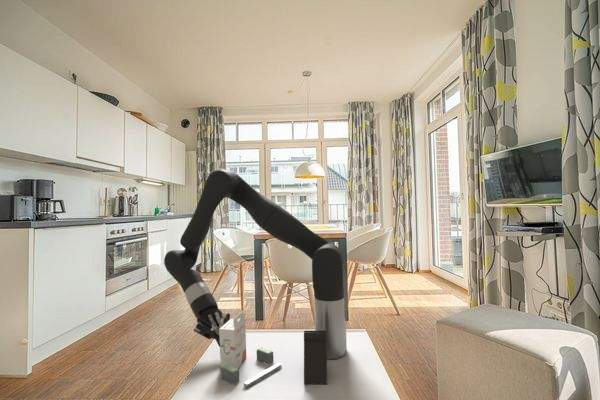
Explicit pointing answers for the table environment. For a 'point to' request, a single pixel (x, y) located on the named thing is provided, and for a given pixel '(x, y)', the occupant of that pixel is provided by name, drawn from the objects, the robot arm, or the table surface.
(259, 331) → the table surface
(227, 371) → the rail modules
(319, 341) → the phone stand
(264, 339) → the table surface
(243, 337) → the ink cartridge box
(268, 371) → the rail
